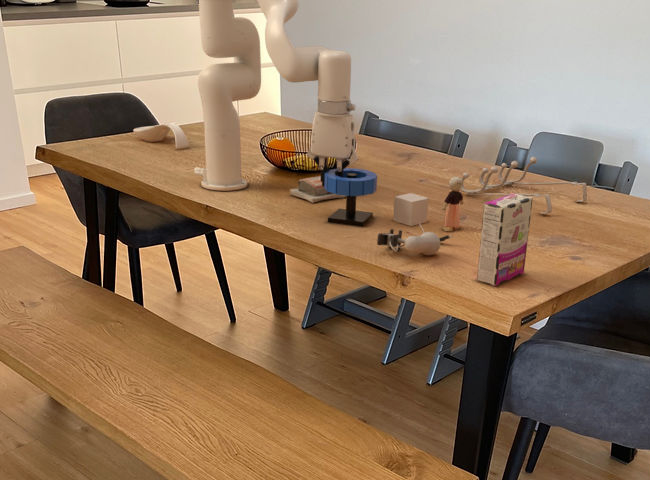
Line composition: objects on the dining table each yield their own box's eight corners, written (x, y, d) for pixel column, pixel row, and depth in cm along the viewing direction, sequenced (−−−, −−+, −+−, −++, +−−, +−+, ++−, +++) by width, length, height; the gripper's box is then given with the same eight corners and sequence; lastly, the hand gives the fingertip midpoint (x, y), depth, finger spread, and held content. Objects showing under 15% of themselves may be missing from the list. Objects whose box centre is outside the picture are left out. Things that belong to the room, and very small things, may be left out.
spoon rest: (127, 139, 277) (125, 117, 273) (157, 135, 284) (155, 113, 281) (168, 151, 263) (167, 128, 259) (198, 146, 270) (197, 124, 267)
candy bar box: (504, 268, 176) (513, 192, 169) (524, 274, 173) (534, 197, 166) (474, 280, 169) (483, 201, 161) (494, 287, 166) (504, 207, 158)
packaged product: (340, 168, 230) (364, 176, 224) (340, 186, 232) (363, 194, 226) (289, 177, 219) (312, 185, 213) (289, 195, 222) (312, 203, 215)
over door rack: (501, 182, 244) (505, 149, 239) (588, 203, 226) (594, 167, 222) (457, 194, 229) (460, 159, 225) (547, 217, 212) (552, 179, 208)
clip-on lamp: (415, 249, 194) (371, 250, 180) (418, 222, 193) (374, 221, 178) (458, 256, 188) (417, 257, 173) (462, 227, 186) (420, 227, 172)
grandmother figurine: (451, 233, 197) (456, 180, 191) (437, 230, 198) (442, 178, 192) (465, 226, 202) (471, 174, 196) (451, 223, 204) (456, 172, 198)
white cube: (409, 216, 208) (411, 192, 206) (426, 222, 205) (428, 198, 202) (393, 220, 205) (394, 196, 202) (410, 226, 201) (412, 201, 198)
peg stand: (327, 222, 201) (328, 176, 196) (338, 213, 208) (340, 168, 203) (362, 226, 199) (364, 180, 193) (372, 217, 206) (375, 172, 201)
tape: (318, 192, 196) (318, 177, 195) (334, 180, 207) (334, 166, 205) (367, 198, 193) (368, 183, 192) (381, 186, 204) (382, 171, 202)
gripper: (371, 108, 194) (367, 186, 203) (306, 102, 198) (305, 178, 206) (362, 113, 187) (358, 193, 196) (295, 106, 191) (295, 185, 200)
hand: (331, 185), depth 201 cm, fingers closed on tape, 2 cm apart
